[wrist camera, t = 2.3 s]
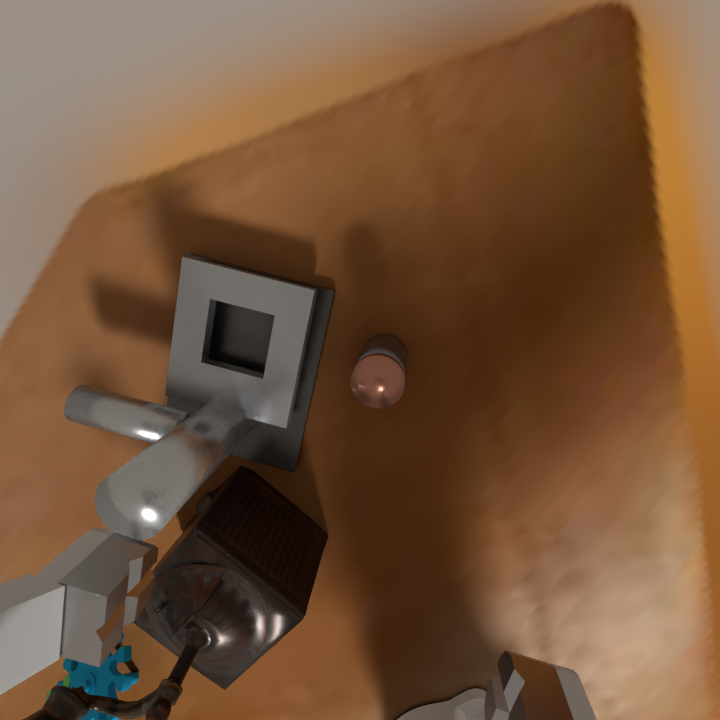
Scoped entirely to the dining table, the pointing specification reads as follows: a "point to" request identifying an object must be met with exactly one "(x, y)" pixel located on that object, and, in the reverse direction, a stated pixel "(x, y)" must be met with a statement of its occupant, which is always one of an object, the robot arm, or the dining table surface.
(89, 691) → the gear
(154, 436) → the pipe elbow on plate
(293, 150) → the dining table surface
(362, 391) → the pin
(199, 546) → the dark brown coffee grinder
